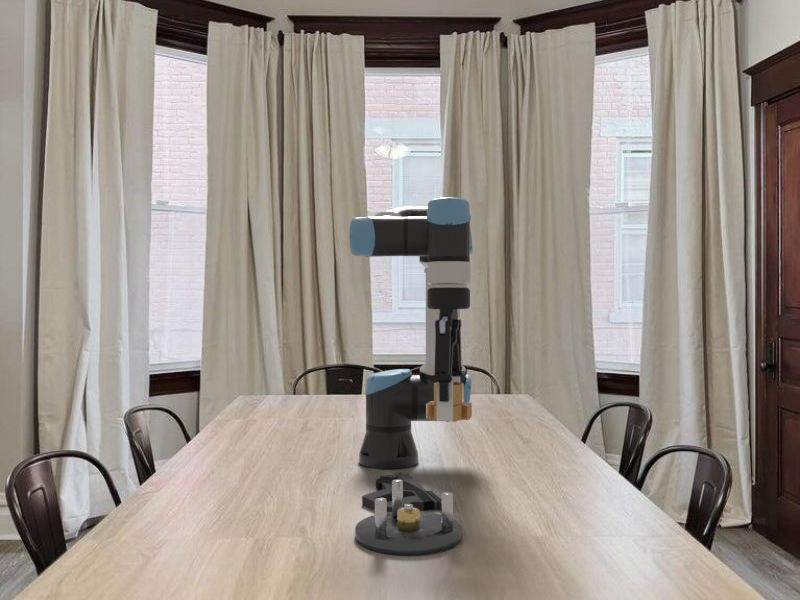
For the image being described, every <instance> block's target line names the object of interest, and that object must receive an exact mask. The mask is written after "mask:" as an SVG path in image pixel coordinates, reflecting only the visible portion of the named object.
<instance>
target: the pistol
mask: <svg viewBox="0 0 800 600" xmlns="http://www.w3.org/2000/svg"><path fill="white" fill-rule="evenodd" d="M393 480H402V481H403V508H404V505H405V504H412V505H413V508H417V509H419V510H420V511H422V512H429V511H435V510H438V511H439V512H442V497H441V498H440V497H439V496H438V495H437V494H436V493H435V492H433V490H427V489H426V488H425V487H424V486H422V485H421V484H420V483H419V482H418V481H417V480H416V479H415V478H414V477H413V476H412V475H411V474H409V473H401V472H396V473H395V474H384V475H383V474H382V475H379V478H376V479H375V489H376V491H373V492H369V493H366V494H364V495H362V496H361V501H362V502H361V505H363V507H366V508H368V509H370V510H373V511H375V499H376V498H385V499H386V500H387V512H392V481H393Z"/></svg>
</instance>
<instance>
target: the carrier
mask: <svg viewBox="0 0 800 600" xmlns="http://www.w3.org/2000/svg"><path fill="white" fill-rule="evenodd" d="M441 499H442V511H441V514H440V513H435V512H429V511H420V510H419V509H417V508H413V505H412V504H405V505H404V508H403V481H402V480H393V481H392V512H387V500H386V499H385V498H376V499H375V510H374V514H372V515H369V516H368V517H365V518H363V519H361V520H359V521H358V523H357V524H356V525H355V529H354V530H355V531H354V538H355V542H357V544H358V545H360V546H361V547H362V548H365V549H366V550H369V551H371V552H375V553H379V554H384V555H389V556H391V555H392V556H403V557H404V556H406V557H413V556H414V557H415V556H425V555H426V556H429V555H433V554H438V553H442V552H445V551H448V550H451V549H453V548H454V547H457V545H459V544H460V543H461V541H462V540H463V527H462V524H461V523H460V522H459V521H457V520H456V519H455V518H454V492H450V491H443V492H441Z"/></svg>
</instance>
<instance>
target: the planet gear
mask: <svg viewBox="0 0 800 600" xmlns="http://www.w3.org/2000/svg"><path fill="white" fill-rule="evenodd" d="M472 408H473V404H472V402H466V403H465V402H464V383H460V382H453V421H450V422H451V423H453V422H458V421H457V420H460V421H469V420H471V418H472V417H473V412H472V411H473V409H472ZM426 418H427V419H434V421H433V422H441V421H440V420H437V382H436V383H434V401H430V402H428V404H426Z"/></svg>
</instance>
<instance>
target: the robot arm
mask: <svg viewBox="0 0 800 600" xmlns="http://www.w3.org/2000/svg"><path fill="white" fill-rule="evenodd" d="M470 212H471V211H470V203H469V200H467V199H465V198H461V197H439V198H433V199H430V200H429V201H428V204H427V206H403V207H401V206H400V207H397V208H396V207H395V208H391V209H388V210H384V211H381V212H378V213H377V214H375V215H374V216H363V217H362V216H360V217H353V218H352V219H351V221H350V223H349V232H348V233H349V250H350V253H351V255H353V256H355V257H365V258H371V257H373V258H374V257H419V258H418V259H419V261H418V262H419V264H421V265H422V266H423V267H424V270H423V272H424V273H425V362H424V363H423V364H422V365H421V366H420V368H419V374H412V373H413V372H412V371H411V369H408V368H398V369H397V368H396V369H390V370H384V371H383V370H382V371H379V372H375V373H372V374H370V375H368V377H367V378H366V382H365V391H364V395H365V433H364V437H363V440H362V443H361V446H360V449H359V453H358V463H359V464H360V465H362V466H365V467H367V468H373V469H389V470H390V469H403V468H409V467H412V466H415V465H417V464H418V463H419V451H418V449H417V444H416V442H415V439H414V436H413V432H412V422H435V421H434V419H427V418H426V404H428V402H430V401H434V383H436V382H437V420H440V421H439V422H448V423H450V422H451V421H453V382H460V383H464V402H465V403H466V402H470V401H471V394H472V393H471V392H472V375H470V374H467V373H466V372H467V371H466V367H465V366H464V365H463V363H462V335H461V333H462V332H461V331H462V330H461V329H462V319H461V310H467V309H468V310H469V309H470V307H471V290H470V288H468V285H470V284H471V259H470V255H472V254H473V239H472V229H471V217H472V216H471V213H470ZM470 403H471V402H470ZM458 421H459V422H461V420H457V421H456V422H458Z"/></svg>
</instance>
